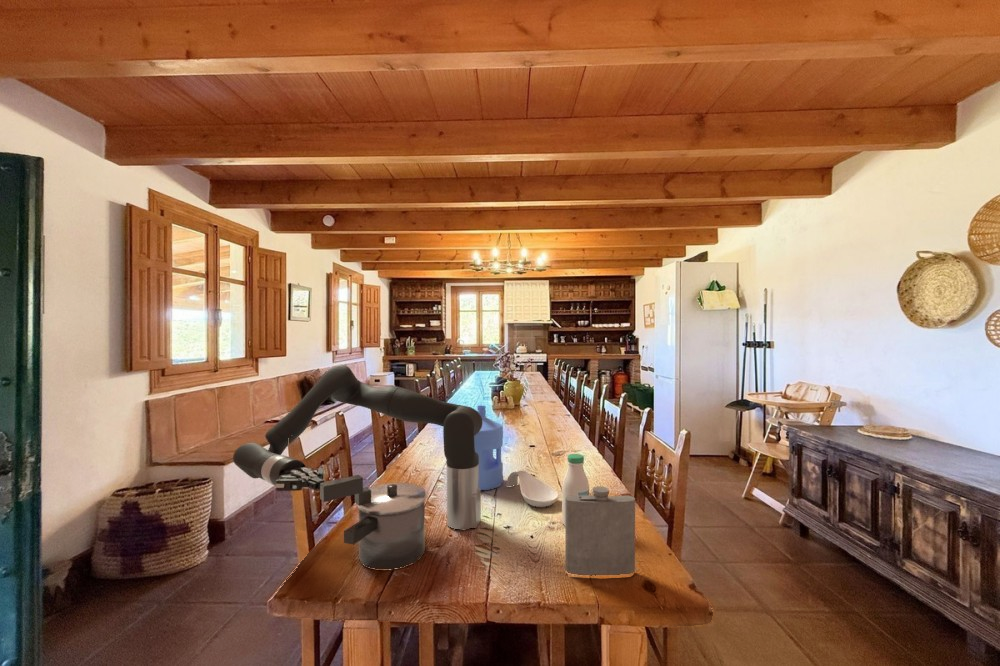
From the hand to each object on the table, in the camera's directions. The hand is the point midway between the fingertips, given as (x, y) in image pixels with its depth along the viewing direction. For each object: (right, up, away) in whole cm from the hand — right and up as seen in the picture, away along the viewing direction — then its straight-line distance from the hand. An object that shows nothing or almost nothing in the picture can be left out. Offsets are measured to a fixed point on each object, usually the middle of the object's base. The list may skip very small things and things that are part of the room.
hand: (321, 485), depth 102 cm
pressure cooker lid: (+12, -6, +4) cm, 14 cm away
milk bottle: (+64, -19, +22) cm, 70 cm away
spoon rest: (+52, -19, +42) cm, 69 cm away
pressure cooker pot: (+14, -19, +3) cm, 24 cm away
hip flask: (+65, -20, -3) cm, 68 cm away
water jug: (+36, -19, +55) cm, 68 cm away
